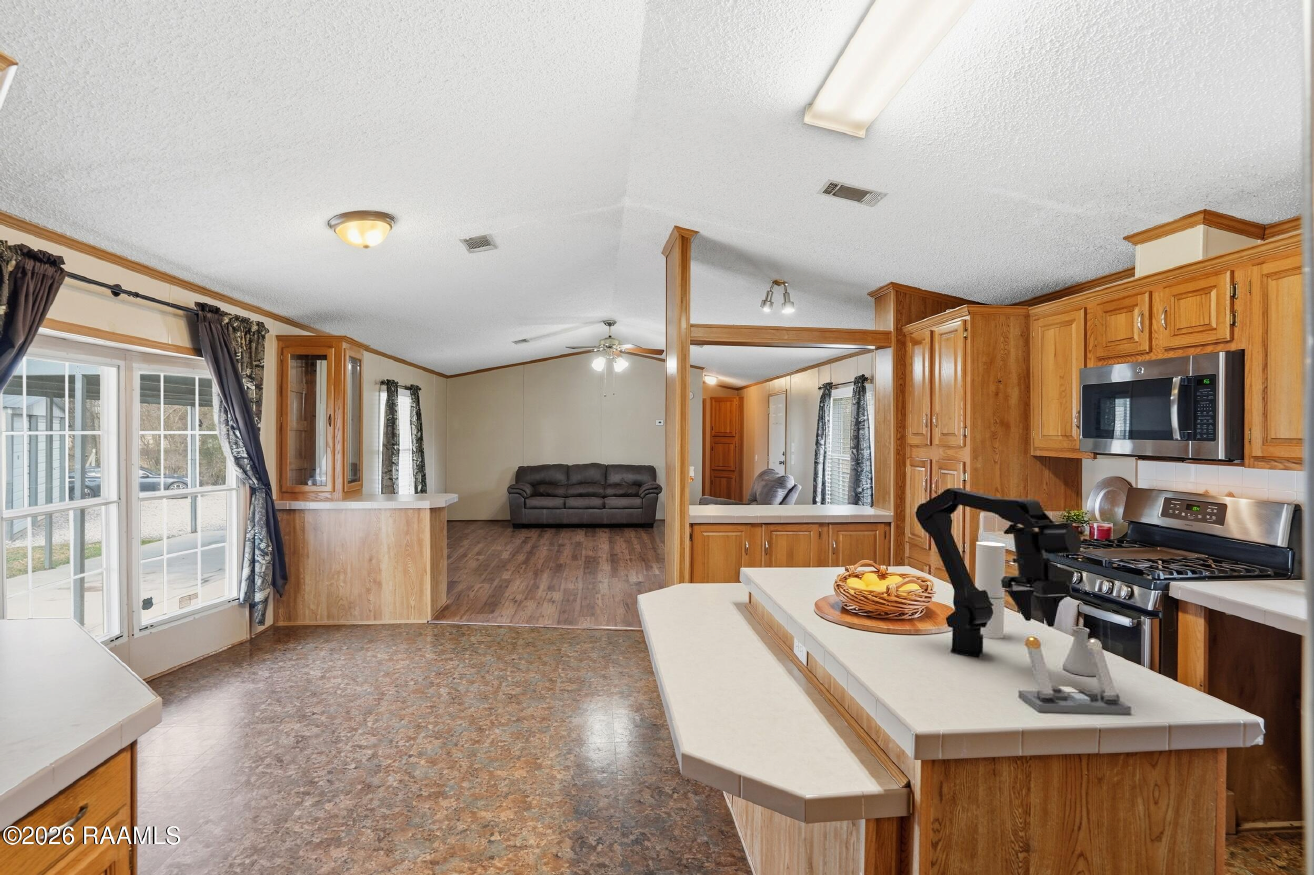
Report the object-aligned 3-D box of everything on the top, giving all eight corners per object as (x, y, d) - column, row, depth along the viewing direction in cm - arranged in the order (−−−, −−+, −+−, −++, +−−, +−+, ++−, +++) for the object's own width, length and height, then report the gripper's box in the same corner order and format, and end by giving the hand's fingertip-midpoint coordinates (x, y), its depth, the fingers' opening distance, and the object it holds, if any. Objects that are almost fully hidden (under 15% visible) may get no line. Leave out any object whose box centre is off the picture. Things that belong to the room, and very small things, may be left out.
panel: (1018, 697, 132) (1018, 683, 132) (1106, 699, 132) (1106, 685, 132) (1038, 711, 125) (1038, 697, 125) (1130, 714, 125) (1131, 699, 125)
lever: (1099, 702, 128) (1080, 639, 134) (1113, 702, 128) (1094, 640, 134) (1108, 700, 125) (1088, 636, 132) (1122, 700, 125) (1102, 637, 132)
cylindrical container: (1004, 633, 177) (1006, 543, 177) (1002, 640, 171) (1004, 546, 171) (975, 629, 181) (977, 540, 181) (972, 635, 175) (974, 543, 175)
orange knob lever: (1036, 700, 128) (1020, 638, 134) (1050, 700, 128) (1034, 638, 134) (1044, 698, 126) (1027, 635, 132) (1058, 698, 126) (1041, 635, 132)
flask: (1105, 678, 144) (1106, 634, 144) (1069, 675, 146) (1070, 631, 146) (1090, 667, 151) (1091, 625, 151) (1056, 664, 153) (1057, 622, 153)
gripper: (1091, 553, 137) (1102, 628, 135) (1042, 550, 156) (1051, 616, 154) (1038, 556, 138) (1049, 630, 135) (996, 552, 156) (1004, 618, 154)
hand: (1039, 623), depth 145 cm, fingers open, 9 cm apart
